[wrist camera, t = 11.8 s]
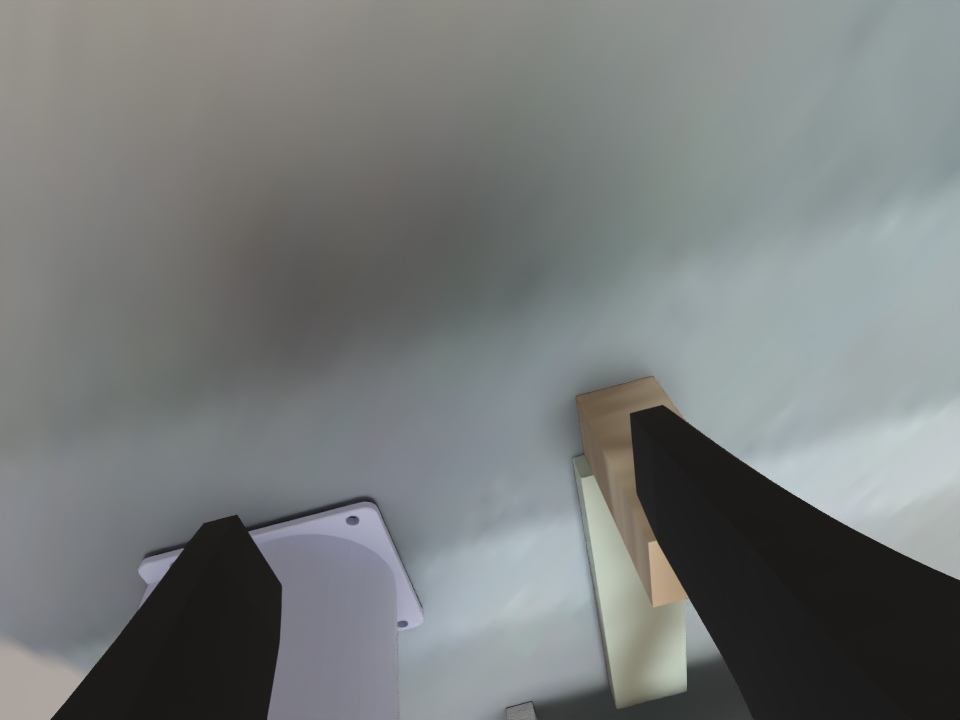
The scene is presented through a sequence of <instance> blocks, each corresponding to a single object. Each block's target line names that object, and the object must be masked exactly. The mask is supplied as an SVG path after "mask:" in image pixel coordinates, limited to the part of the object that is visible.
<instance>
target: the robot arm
mask: <svg viewBox="0 0 960 720" xmlns="http://www.w3.org/2000/svg"><path fill="white" fill-rule="evenodd" d="M630 424H631V436H632V447H633V459H634V471H635V483H636V493H637V496H638V498H639V501H640V503H641V505H642V508H643V510H644V513H645V515H646V517H647V520H648V522H649V524H650V527H651V529H652V531H653V533H654V536H655V538H656V540H657V543H658V544H659V546H660V548H661V550H662V552H663V553H664V555H665V557H666V559H667V561H668V562H669V564H670V566H671V568H672V569H673V571H674V573H675V575H676V576H677V578H678V580H679V582H680V583H681V585H682V587H683V589H684V590H685V592H686V594H687V596H688V597H689V599H690V601H691V603H692V604H693V606H694V608H695V609H696V611H697V613H698V615H699V616H700V618H701V620H702V622H703V623H704V625H705V627H706V629H707V630H708V632H709V634H710V636H711V637H712V639H713V641H714V642H715V644H716V646H717V648H718V649H719V651H720V653H721V655H722V656H723V658H724V660H725V662H726V664H727V666H728V668H729V670H730V671H731V673H732V675H733V677H734V679H735V681H736V683H737V685H738V687H739V689H740V691H741V693H742V696H743V698H744V700H745V702H746V704H747V706H748V709H749V711H750V713H751V715H752V717H753V719H754V720H960V580H958V579H955V578H953V577H951V576H949V575H946V574H944V573H942V572H939V571H937V570H935V569H933V568H930V567H928V566H926V565H924V564H922V563H920V562H918V561H915V560H913V559H911V558H909V557H907V556H905V555H903V554H901V553H899V552H897V551H895V550H893V549H891V548H889V547H887V546H885V545H883V544H881V543H879V542H877V541H875V540H873V539H871V538H869V537H867V536H865V535H864V534H862V533H860V532H858V531H856V530H854V529H852V528H850V527H848V526H847V525H845V524H843V523H841V522H839V521H837V520H836V519H834V518H832V517H830V516H829V515H827V514H825V513H823V512H822V511H820V510H818V509H817V508H815V507H813V506H812V505H810V504H808V503H807V502H805V501H803V500H802V499H800V498H798V497H797V496H795V495H793V494H792V493H790V492H788V491H787V490H785V489H784V488H782V487H780V486H779V485H777V484H776V483H774V482H773V481H771V480H769V479H768V478H766V477H765V476H763V475H762V474H760V473H759V472H757V471H756V470H754V469H753V468H751V467H750V466H748V465H747V464H745V463H744V462H742V461H741V460H739V459H738V458H736V457H735V456H734V455H732V454H731V453H729V452H728V451H726V450H725V449H724V448H722V447H721V446H719V445H718V444H717V443H715V442H714V441H712V440H711V439H710V438H708V437H707V436H705V435H704V434H703V433H701V432H700V431H699V430H697V429H696V428H694V427H693V426H692V425H690V424H689V423H688V422H686V421H685V420H684V419H682V418H681V417H680V416H678V415H677V414H676V413H674V412H673V411H671V410H670V409H669V408H667V407H666V406H664V405H660V406H656V407H652V408H648V409H644V410H640V411H636V412H632V413H630ZM350 516H356V518H350ZM138 573H139V575H140V576H141V577H142V578H143V580H144V581H145V582H146V583H147V584H148V586H147V588H146V591H145V593H144V596H143V598H142V601H141V603H140V606H139V608H138V611H137V612H136V614H135V615H134V616H133V618H132V619H131V620H130V622H129V623H128V624H127V626H126V627H125V628H124V630H123V631H122V632H121V634H120V635H119V636H118V638H117V639H116V640H115V641H114V643H113V644H112V645H111V646H110V648H109V649H108V650H107V651H106V653H105V654H104V655H103V656H102V657H101V659H100V660H99V661H98V662H97V664H96V665H95V666H94V667H93V669H92V670H91V671H90V672H89V674H88V675H87V676H86V677H85V678H84V680H83V681H82V682H81V683H80V685H79V686H78V687H77V688H76V690H75V691H74V692H73V693H72V695H71V696H70V697H69V698H68V700H67V701H66V702H65V703H64V704H63V706H62V707H61V708H60V709H59V710H58V711H57V713H56V714H55V715H54V716H53V717H52V718H51V720H400V715H399V673H398V632H399V631H403V630H406V629H410V628H414V627H417V626H419V625H421V624H422V623H423V621H424V614H423V610H422V608H421V605H420V603H419V601H418V599H417V596H416V594H415V592H414V589H413V587H412V585H411V583H410V580H409V578H408V576H407V573H406V571H405V569H404V567H403V564H402V562H401V560H400V558H399V555H398V553H397V551H396V548H395V546H394V544H393V542H392V539H391V537H390V535H389V532H388V530H387V528H386V526H385V523H384V521H383V519H382V517H381V514H380V512H379V510H378V508H377V506H376V505H375V504H373V503H371V502H360V503H356V504H352V505H349V506H345V507H341V508H337V509H333V510H329V511H325V512H322V513H318V514H314V515H310V516H306V517H302V518H298V519H294V520H291V521H287V522H283V523H279V524H275V525H271V526H267V527H264V528H260V529H256V530H252V531H247V529H246V528H245V526H244V525H243V523H242V521H241V520H240V518H239V517H238V515H234V516H230V517H226V518H222V519H219V520H215V521H211V522H207V523H204V524H203V525H202V526H201V528H200V529H199V530H198V531H197V532H196V534H195V535H194V536H193V538H192V539H191V540H190V541H189V543H188V544H187V545H186V547H185V548H182V549H179V550H175V551H171V552H167V553H163V554H159V555H155V556H152V557H148V558H146V559H144V560H143V561H142V562H141V564H140V566H139V569H138Z"/></svg>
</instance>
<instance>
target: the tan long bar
mask: <svg viewBox="0 0 960 720" xmlns="http://www.w3.org/2000/svg"><path fill="white" fill-rule="evenodd" d="M576 400H577V407H578V414H579V421H580V428H581V434H582V441H583V448H584V455H581V456H577V457H574V458H573V464H574V470H575V477H576V483H577V489H578V495H579V501H580V507H581V513H582V520H583V526H584V532H585V538H586V544H587V550H588V557H589V563H590V569H591V575H592V581H593V587H594V594H595V600H596V606H597V612H598V618H599V624H600V631H601V637H602V643H603V649H604V655H605V661H606V667H607V674H608V680H609V686H610V690H611V693H612V696H613V699H614V702H615V705H616V708H617V710H618V709H622V708H625V707H629V706H633V705H637V704H641V703H644V702H648V701H652V700H656V699H660V698H663V697H667V696H671V695H675V694H679V693H682V692H686V691H687V669H686V626H685V599H688V598H689V597H688V596H687V594H686V592H685V590H684V589H683V587H682V585H681V583H680V582H679V580H678V578H677V576H676V575H675V573H674V571H673V569H672V568H671V566H670V564H669V562H668V561H667V559H666V557H665V555H664V553H663V552H662V550H661V548H660V546H659V544H658V543H657V540H656V538H655V536H654V533H653V531H652V529H651V527H650V524H649V522H648V520H647V517H646V515H645V513H644V510H643V508H642V505H641V503H640V501H639V498H638V496H637V493H636V483H635V471H634V459H633V447H632V436H631V424H630V413H632V412H636V411H640V410H644V409H648V408H652V407H656V406H660V405H664V406H666V407H667V408H669V409H670V410H671V411H673V412H674V413H676V414H677V415H678V416H680V417H681V418H682V419H684V418H683V416H682V415H681V414H680V412H679V411H678V410H677V408H676V407H675V405H674V404H673V403H672V401H671V400H670V399H669V397H668V396H667V394H666V393H665V392H664V390H663V389H662V388H661V386H660V385H659V383H658V382H657V381H656V379H655V378H654V377H653V376H652V377H648V378H644V379H641V380H637V381H633V382H629V383H625V384H621V385H617V386H613V387H609V388H606V389H602V390H598V391H594V392H590V393H586V394H582V395H578V396H576ZM684 420H685V419H684Z"/></svg>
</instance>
